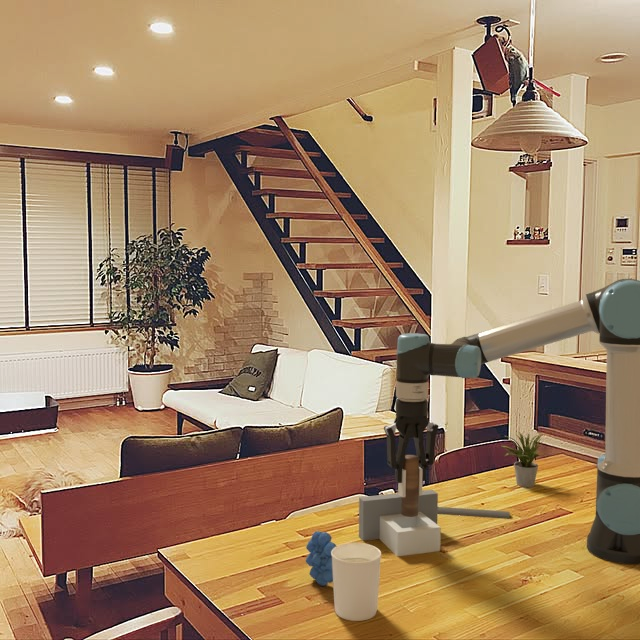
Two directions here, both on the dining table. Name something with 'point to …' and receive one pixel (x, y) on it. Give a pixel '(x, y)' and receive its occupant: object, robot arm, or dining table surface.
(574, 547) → the dining table surface
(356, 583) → the candle holder
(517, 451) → the house plant
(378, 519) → the wall
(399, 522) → the white square open box
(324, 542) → the grapes
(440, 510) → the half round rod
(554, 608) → the dining table surface
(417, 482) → the dowel
